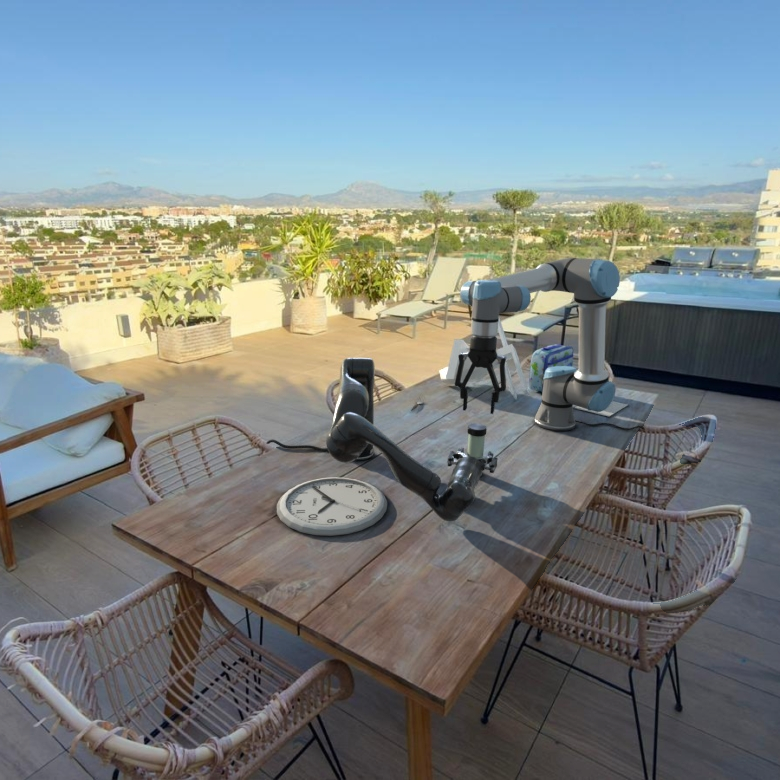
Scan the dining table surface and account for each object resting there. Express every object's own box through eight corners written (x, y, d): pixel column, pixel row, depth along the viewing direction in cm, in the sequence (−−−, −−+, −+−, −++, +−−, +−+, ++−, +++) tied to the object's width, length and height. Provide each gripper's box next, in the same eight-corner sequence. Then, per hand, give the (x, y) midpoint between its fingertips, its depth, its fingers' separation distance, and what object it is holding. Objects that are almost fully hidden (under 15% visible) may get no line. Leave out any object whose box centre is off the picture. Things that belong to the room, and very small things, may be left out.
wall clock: (392, 527, 129) (268, 531, 127) (391, 533, 130) (269, 537, 127) (383, 473, 158) (282, 475, 155) (383, 478, 158) (282, 480, 156)
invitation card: (608, 416, 214) (573, 407, 224) (608, 416, 214) (573, 408, 224) (628, 404, 229) (594, 396, 238) (628, 405, 229) (594, 397, 238)
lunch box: (545, 397, 238) (550, 352, 231) (524, 391, 245) (529, 348, 239) (572, 386, 255) (578, 344, 249) (552, 381, 262) (557, 340, 256)
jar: (483, 477, 160) (486, 431, 156) (467, 477, 160) (470, 430, 156) (480, 470, 165) (483, 425, 161) (465, 470, 165) (468, 425, 160)
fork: (408, 411, 216) (408, 407, 215) (419, 400, 230) (419, 396, 229) (414, 412, 215) (414, 407, 214) (425, 401, 229) (425, 396, 229)
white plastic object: (461, 429, 252) (437, 405, 227) (444, 352, 274) (420, 323, 250) (535, 404, 240) (518, 377, 215) (510, 326, 262) (492, 293, 237)
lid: (487, 436, 156) (488, 430, 155) (469, 436, 156) (469, 429, 155) (484, 429, 161) (484, 423, 161) (466, 429, 161) (466, 423, 161)
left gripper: (441, 482, 151) (453, 459, 165) (490, 490, 146) (498, 466, 161) (442, 458, 148) (454, 437, 163) (492, 466, 144) (500, 444, 159)
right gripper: (521, 335, 150) (514, 410, 157) (451, 330, 156) (447, 403, 163) (519, 340, 143) (511, 418, 150) (446, 335, 149) (442, 410, 156)
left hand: (476, 452), depth 162 cm, fingers open, 8 cm apart
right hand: (478, 410), depth 157 cm, fingers open, 7 cm apart
